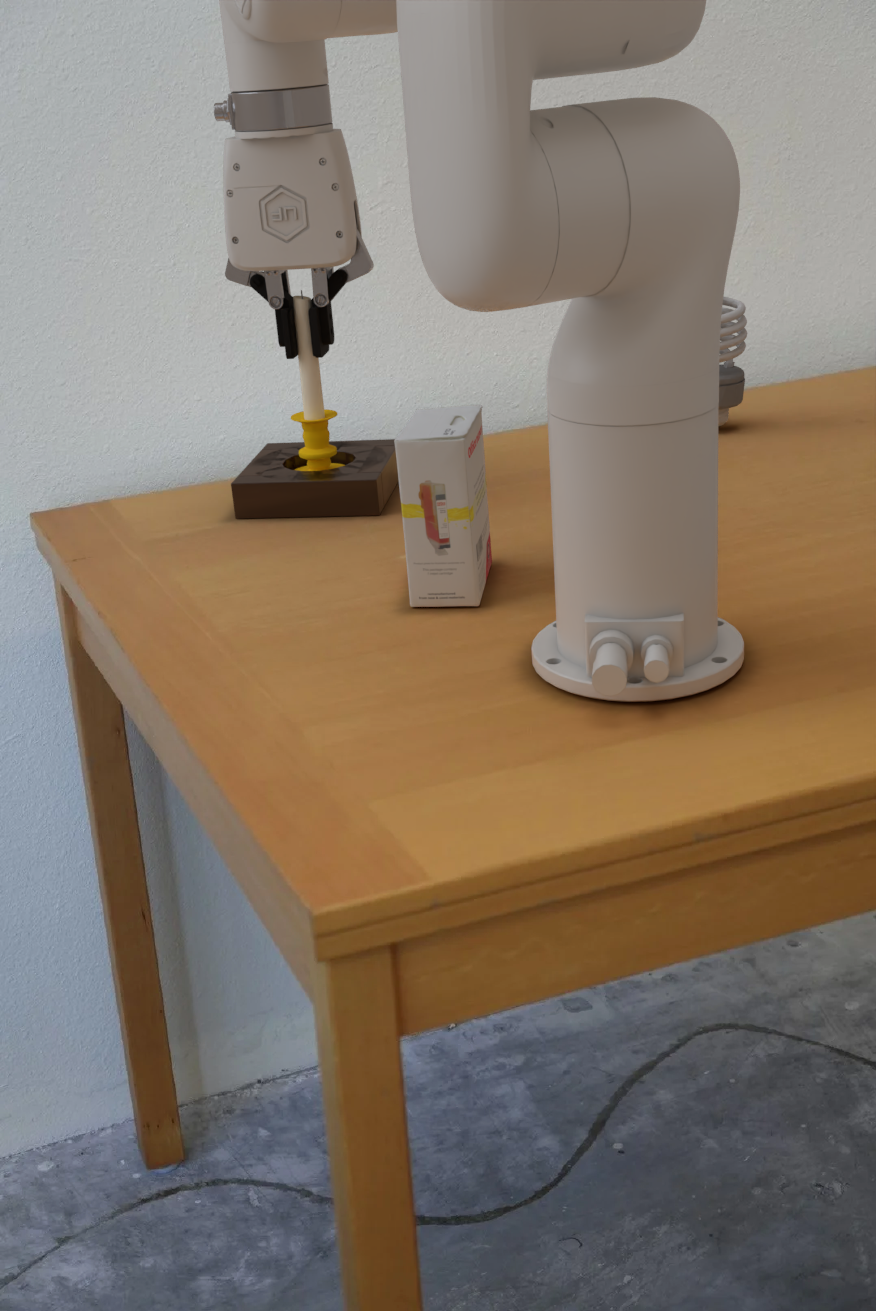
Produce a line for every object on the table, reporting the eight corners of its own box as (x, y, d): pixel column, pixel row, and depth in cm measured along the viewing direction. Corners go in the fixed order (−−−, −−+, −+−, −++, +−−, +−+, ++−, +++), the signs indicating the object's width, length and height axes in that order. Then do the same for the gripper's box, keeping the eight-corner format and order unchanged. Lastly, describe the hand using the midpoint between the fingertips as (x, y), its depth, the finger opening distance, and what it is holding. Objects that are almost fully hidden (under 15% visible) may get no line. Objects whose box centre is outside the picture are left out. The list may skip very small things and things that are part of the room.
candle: (355, 467, 126) (337, 282, 120) (347, 485, 121) (328, 293, 115) (295, 470, 127) (274, 286, 120) (284, 488, 122) (262, 297, 116)
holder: (379, 515, 118) (376, 479, 117) (235, 518, 120) (230, 483, 119) (404, 472, 129) (401, 438, 128) (271, 475, 131) (267, 443, 130)
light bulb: (711, 417, 138) (711, 287, 134) (758, 426, 134) (761, 293, 130) (670, 430, 135) (669, 297, 131) (717, 440, 131) (718, 303, 126)
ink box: (426, 564, 107) (414, 404, 102) (494, 563, 106) (484, 401, 101) (406, 609, 99) (391, 437, 94) (479, 608, 98) (467, 435, 94)
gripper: (168, 124, 110) (202, 369, 118) (374, 110, 108) (395, 361, 115) (197, 117, 117) (227, 349, 125) (391, 104, 115) (410, 341, 122)
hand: (308, 353), depth 120 cm, fingers closed on candle
